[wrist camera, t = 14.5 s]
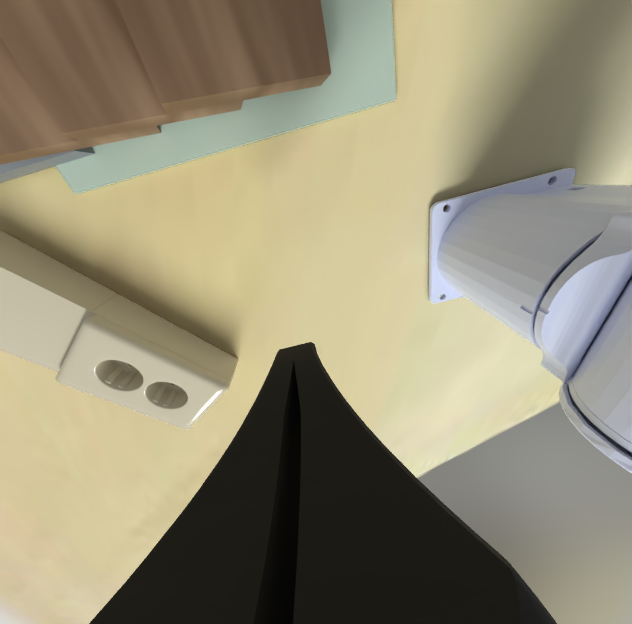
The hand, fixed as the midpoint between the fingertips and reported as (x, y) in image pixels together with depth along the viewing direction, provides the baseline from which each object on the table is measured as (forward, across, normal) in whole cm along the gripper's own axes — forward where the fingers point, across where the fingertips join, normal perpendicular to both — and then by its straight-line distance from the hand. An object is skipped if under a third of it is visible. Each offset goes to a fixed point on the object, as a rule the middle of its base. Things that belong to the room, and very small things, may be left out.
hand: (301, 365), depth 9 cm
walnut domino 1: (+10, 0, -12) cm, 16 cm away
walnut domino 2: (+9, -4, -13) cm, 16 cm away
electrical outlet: (+12, +16, +2) cm, 20 cm away
